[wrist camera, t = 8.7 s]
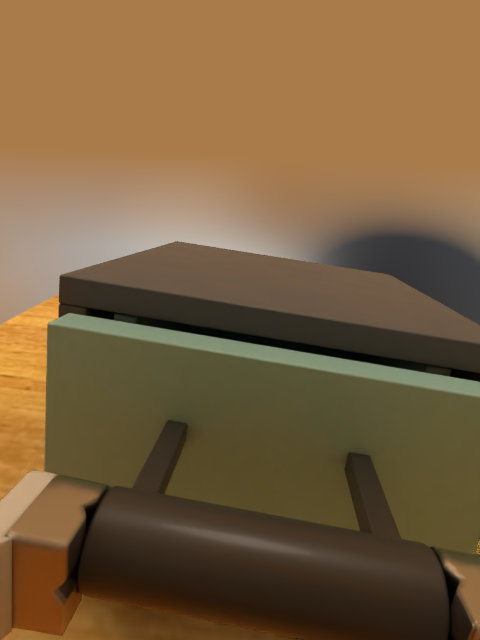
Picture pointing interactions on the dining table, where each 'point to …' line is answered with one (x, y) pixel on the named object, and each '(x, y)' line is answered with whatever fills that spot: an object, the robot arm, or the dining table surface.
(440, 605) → the drawer
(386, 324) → the mini chest of drawers
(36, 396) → the dining table surface
